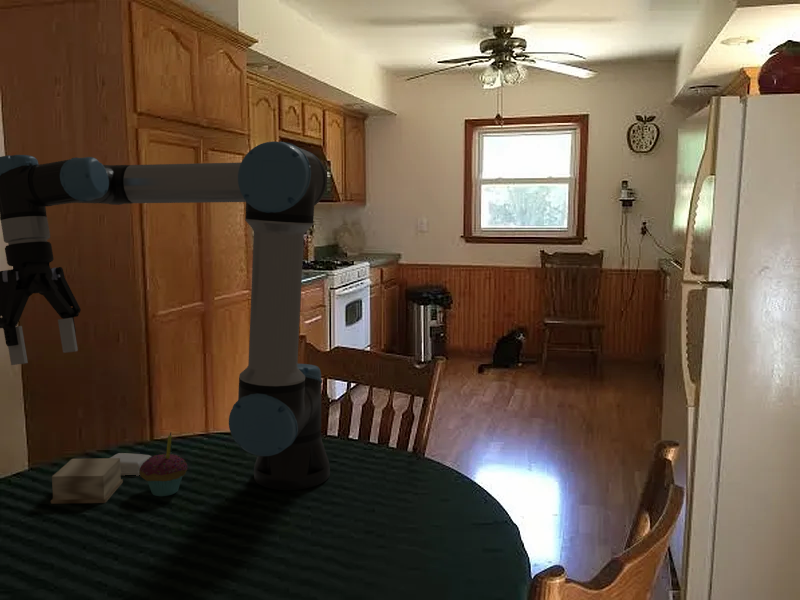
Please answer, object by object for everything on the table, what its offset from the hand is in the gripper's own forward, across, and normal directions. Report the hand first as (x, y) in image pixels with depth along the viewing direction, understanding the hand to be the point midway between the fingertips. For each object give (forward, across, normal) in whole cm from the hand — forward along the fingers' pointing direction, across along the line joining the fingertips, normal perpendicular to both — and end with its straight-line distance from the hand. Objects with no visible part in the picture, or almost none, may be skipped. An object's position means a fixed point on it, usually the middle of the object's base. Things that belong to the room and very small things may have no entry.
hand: (46, 357), depth 125 cm
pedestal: (+26, -2, +2) cm, 27 cm away
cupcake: (+29, -6, +16) cm, 33 cm away
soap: (+27, -15, +3) cm, 31 cm away
